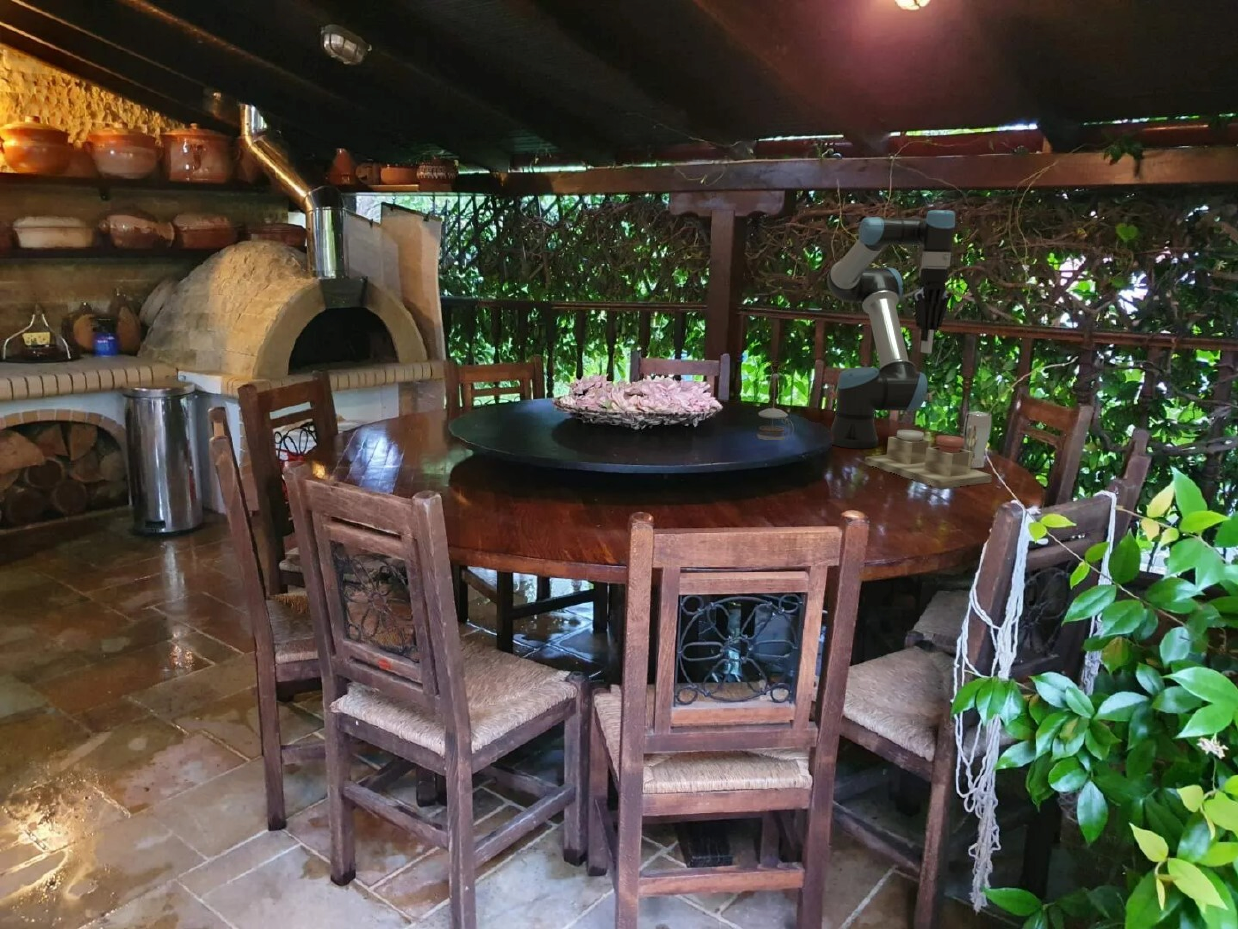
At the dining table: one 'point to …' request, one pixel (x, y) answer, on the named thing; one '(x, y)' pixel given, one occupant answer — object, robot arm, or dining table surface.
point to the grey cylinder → (910, 435)
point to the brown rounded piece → (950, 443)
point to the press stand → (928, 464)
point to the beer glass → (977, 436)
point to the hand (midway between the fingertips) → (925, 352)
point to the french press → (772, 414)
